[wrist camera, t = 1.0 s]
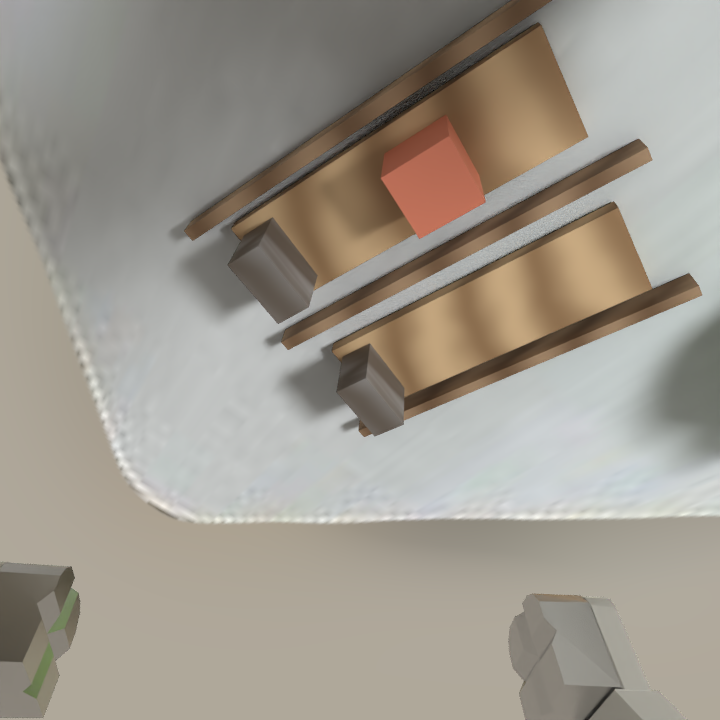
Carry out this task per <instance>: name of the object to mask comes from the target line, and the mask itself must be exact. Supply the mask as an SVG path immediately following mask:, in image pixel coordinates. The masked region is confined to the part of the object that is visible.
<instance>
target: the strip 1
mask: <svg viewBox="0 0 720 720" xmlns="http://www.w3.org/2000/svg"><path fill="white" fill-rule="evenodd" d="M444 115H447V117H448V119H449V121H450V123H451V124H452V126H453V128H454V130H455V132H456V134H457V135H458V137H459V139H460V141H461V143H462V145H463V147H464V148H465V150H466V152H467V154H468V156H469V158H470V159H471V161H472V163H473V165H474V167H475V169H476V171H477V172H478V174H479V177H480V181H481V185H482V189H483V193H484V195H485V194H487V193H489V192H491V191H492V190H494V189H496V188H498V187H500V186H501V185H503V184H505V183H507V182H508V181H510V180H512V179H514V178H516V177H517V176H519V175H521V174H523V173H525V172H526V171H528V170H530V169H532V168H533V167H535V166H537V165H539V164H541V163H542V162H544V161H546V160H548V159H550V158H551V157H553V156H555V155H557V154H558V153H560V152H562V151H564V150H566V149H567V148H569V147H571V146H573V145H575V144H576V143H578V142H580V141H582V140H583V139H585V138H587V137H588V135H587V132H586V130H585V128H584V125H583V123H582V120H581V118H580V116H579V113H578V111H577V109H576V106H575V104H574V101H573V99H572V97H571V94H570V92H569V90H568V87H567V85H566V82H565V80H564V78H563V75H562V73H561V71H560V68H559V66H558V63H557V61H556V59H555V56H554V54H553V52H552V49H551V47H550V44H549V42H548V40H547V37H546V35H545V33H544V30H543V28H542V25H541V24H540V23H536V24H535V25H533V26H532V27H530V28H529V29H527V30H526V31H524V32H523V33H521V34H520V35H518V36H517V37H515V38H514V39H512V40H511V41H509V42H508V43H506V44H505V45H503V46H501V47H500V48H498V49H497V50H495V51H494V52H492V53H491V54H489V55H488V56H486V57H485V58H483V59H482V60H480V61H479V62H477V63H476V64H474V65H473V66H471V67H470V68H468V69H467V70H465V71H464V72H462V73H461V74H459V75H458V76H456V77H455V78H453V79H452V80H450V81H448V82H447V83H445V84H444V85H442V86H441V87H439V88H438V89H436V90H435V91H433V92H432V93H430V94H429V95H427V96H426V97H424V98H423V99H421V100H420V101H418V102H417V103H415V104H414V105H412V106H411V107H409V108H408V109H406V110H405V111H403V112H402V113H400V114H399V115H397V116H395V117H394V118H392V119H391V120H389V121H388V122H386V123H385V124H383V125H382V126H380V127H379V128H377V129H376V130H374V131H373V132H371V133H370V134H368V135H367V136H365V137H364V138H362V139H361V140H359V141H358V142H356V143H355V144H353V145H352V146H350V147H349V148H347V149H346V150H344V151H342V152H341V153H339V154H338V155H336V156H335V157H333V158H332V159H330V160H329V161H327V162H326V163H324V164H323V165H321V166H320V167H318V168H317V169H315V170H314V171H312V172H311V173H309V174H308V175H306V176H305V177H303V178H302V179H300V180H299V181H297V182H296V183H294V184H293V185H291V186H289V187H288V188H286V189H285V190H283V191H282V192H280V193H279V194H277V195H276V196H274V197H273V198H271V199H270V200H268V201H267V202H265V203H264V204H262V205H261V206H259V207H258V208H256V209H255V210H253V211H252V212H250V213H249V214H247V215H246V216H244V217H243V218H241V219H240V220H238V221H236V222H235V223H234V225H233V226H232V228H231V229H232V231H233V232H234V233H235V234H236V236H237V237H238V238H239V239H240V240H241V242H240V244H239V245H238V247H237V249H236V251H235V253H234V254H233V256H232V258H231V260H230V262H229V263H228V266H229V267H230V269H231V270H232V271H233V272H234V273H235V274H236V276H237V277H238V278H239V279H240V280H241V281H242V283H243V284H244V285H245V286H246V287H247V288H248V290H249V291H250V292H251V293H252V294H253V295H254V297H255V298H256V299H257V300H258V301H259V302H260V304H261V305H262V306H263V307H264V308H265V309H266V311H267V312H268V313H269V314H270V315H271V316H272V318H273V319H274V320H275V321H276V322H277V323H278V324H279V323H281V322H283V321H285V320H286V319H288V318H290V317H292V316H294V315H295V314H297V313H299V312H301V311H303V310H305V309H306V308H308V307H309V304H310V301H311V297H312V294H313V291H314V290H316V289H317V288H319V287H321V286H323V285H324V284H326V283H328V282H330V281H332V280H333V279H335V278H337V277H339V276H341V275H342V274H344V273H346V272H348V271H349V270H351V269H353V268H355V267H357V266H358V265H360V264H362V263H364V262H366V261H367V260H369V259H371V258H373V257H375V256H376V255H378V254H380V253H382V252H383V251H385V250H387V249H389V248H391V247H392V246H394V245H396V244H398V243H400V242H401V241H403V240H405V239H407V238H408V237H410V236H412V235H414V234H416V233H415V231H414V229H413V228H412V226H411V225H410V223H409V222H408V220H407V218H406V217H405V215H404V214H403V212H402V211H401V209H400V208H399V206H398V204H397V203H396V201H395V200H394V198H393V197H392V195H391V193H390V192H389V190H388V189H387V187H386V186H385V184H384V182H383V181H382V179H381V173H382V166H383V160H384V154H385V153H386V152H388V151H389V150H391V149H393V148H394V147H396V146H397V145H399V144H400V143H402V142H404V141H405V140H407V139H408V138H410V137H411V136H413V135H415V134H416V133H418V132H419V131H421V130H422V129H424V128H426V127H427V126H429V125H430V124H432V123H433V122H435V121H436V120H438V119H440V118H441V117H443V116H444Z"/></svg>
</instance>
